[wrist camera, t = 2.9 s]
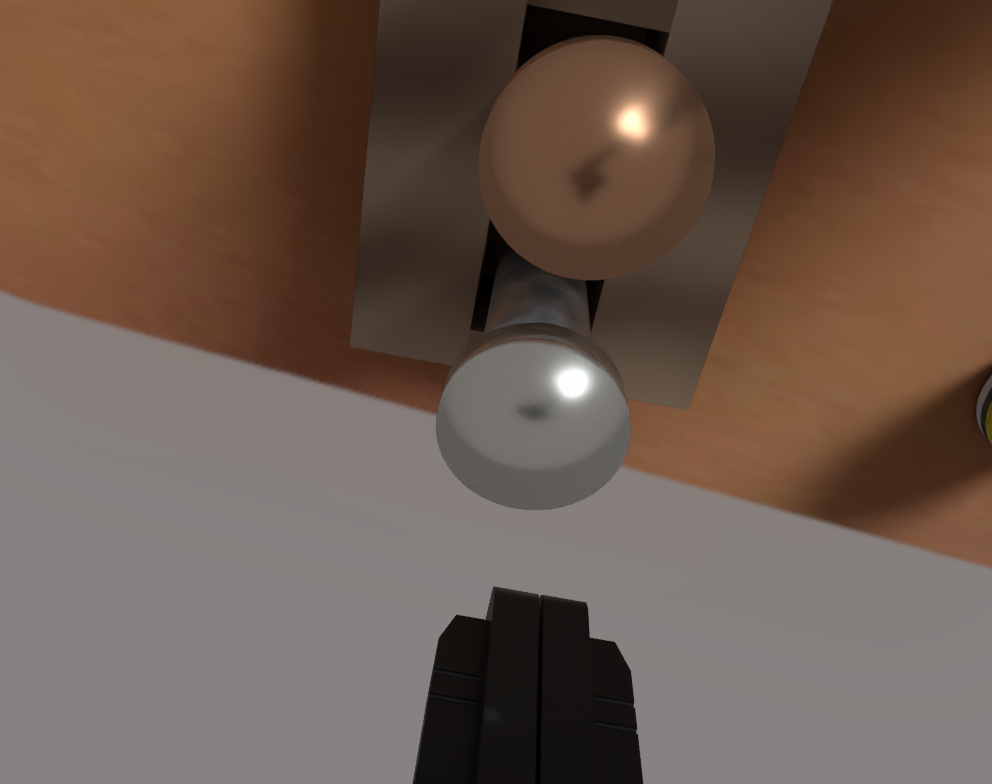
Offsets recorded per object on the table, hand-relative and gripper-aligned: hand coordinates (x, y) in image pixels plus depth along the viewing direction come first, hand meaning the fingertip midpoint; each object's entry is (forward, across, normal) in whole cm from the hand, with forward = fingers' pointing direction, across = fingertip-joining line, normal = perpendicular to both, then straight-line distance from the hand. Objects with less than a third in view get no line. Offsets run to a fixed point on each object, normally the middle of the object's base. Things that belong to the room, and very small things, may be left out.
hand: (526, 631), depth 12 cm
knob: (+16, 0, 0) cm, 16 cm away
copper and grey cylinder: (+16, 0, -6) cm, 17 cm away
